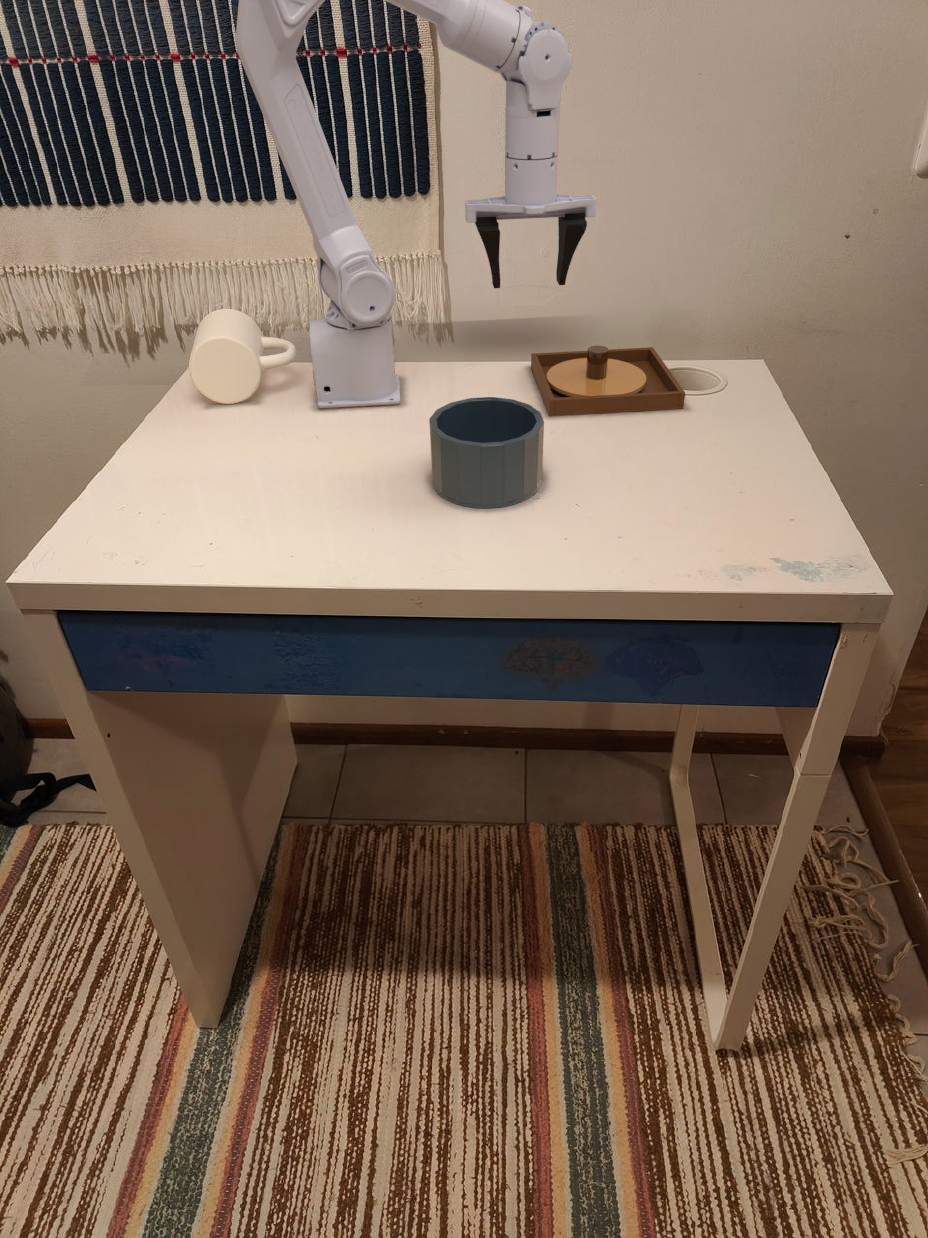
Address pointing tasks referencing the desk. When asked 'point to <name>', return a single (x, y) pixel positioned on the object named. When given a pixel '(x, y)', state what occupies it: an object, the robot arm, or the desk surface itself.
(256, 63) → the robot arm
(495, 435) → the blue gray round pot
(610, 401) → the tray
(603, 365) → the lid
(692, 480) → the desk surface
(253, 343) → the mug
